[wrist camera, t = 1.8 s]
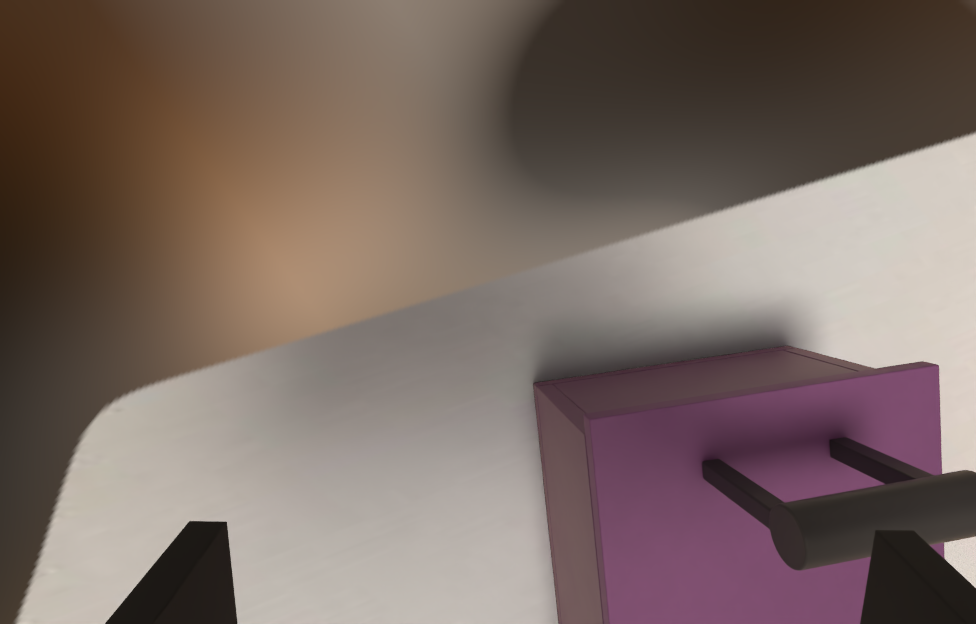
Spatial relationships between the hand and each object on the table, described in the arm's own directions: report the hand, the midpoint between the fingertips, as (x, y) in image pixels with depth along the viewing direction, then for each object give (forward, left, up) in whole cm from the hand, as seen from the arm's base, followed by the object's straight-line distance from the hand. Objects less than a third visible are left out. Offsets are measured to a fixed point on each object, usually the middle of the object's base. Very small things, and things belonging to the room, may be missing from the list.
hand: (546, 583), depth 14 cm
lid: (-2, +13, -10) cm, 17 cm away
